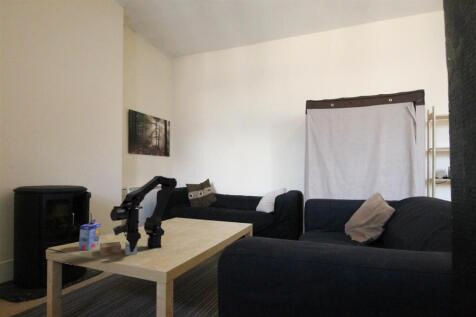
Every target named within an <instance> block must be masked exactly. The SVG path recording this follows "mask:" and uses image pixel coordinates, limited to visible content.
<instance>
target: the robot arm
mask: <svg viewBox="0 0 476 317" xmlns="http://www.w3.org/2000/svg"><path fill="white" fill-rule="evenodd" d="M159 185H160V190H161V192H160V194H159V197H158V200H157V202H156V204H155V207H154V209H153V212H152V214H151V216H150V217H149V216H147V217H146V218H145V221H144V223H143V225H144V226H143V229H144V232H145V235H146V236H147V239H146V240H147V241H146V247H147V248H148V249H156V248H158V249H159V248H162V247H163V246H162V236H165V230H164V229H163V228H162V216H163V213H164V211H165V208H166V205H167V203H168V200H169V198H170V195H171V193H173V192H174V190H175V189H176V187H177V185H178V181H177V179H176V178H175V177H166V176H162V175H155V176H153V178H152V179H150V180H149V181H147V182H146V183H145V184H143V185H142V186H141V187H140V188H138V189H136V190H135V189H134V190H132V191H130V192H128V193H126V195H125V197H124V199H123V200H122V202H121V204H120V205H113V208H112V209H111V211H110V214H109V217H110V219H111V221H112V222H117V221H123V220H124V223H123V224H120V225H117V226H114V227H113V228H112V230H113V233H114V235H115V236H116V237H117V236H118V235H119V234H122V233H123V234H124V237H125V239H126V242H129V246H130V252H133V251H134V249H135V246H136V244H137V245H138V242H139V240H140V239H142V234H141V232H139V231H140V230H139V224H140V220H139V218H140V210H141V209H144V208H143V206H142V205H141V204H142V202H143V201H144V199H145V197H146V196H147V195H148V194H149V193H150V192H152V191H153V190H154V189H155V188H156V187H158V186H159Z"/></svg>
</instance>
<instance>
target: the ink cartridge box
mask: <svg viewBox="0 0 476 317" xmlns="http://www.w3.org/2000/svg"><path fill="white" fill-rule="evenodd" d="M96 220H97V219H92V220H91V221H90V222H89V223H84V224H82V225H80V228H79V239H78V240H79V241H78V250H81V251H89V250H91V249H93V248H96V247H99V246H100V234H101V232H100V231H101V222H96Z"/></svg>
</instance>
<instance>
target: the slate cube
mask: <svg viewBox="0 0 476 317" xmlns="http://www.w3.org/2000/svg"><path fill="white" fill-rule="evenodd" d="M124 244H125V246H124V254H125V256H132V255H138V243H137V244H136V246H135V249H134V251H133V252H130V246H129V242H128V241H125V243H124Z"/></svg>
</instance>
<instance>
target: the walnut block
mask: <svg viewBox="0 0 476 317" xmlns="http://www.w3.org/2000/svg"><path fill="white" fill-rule="evenodd" d="M116 254H118V255H119V254H122V243H121V242H120V241H114V242H113V241H112V242H101V243H100V242H99V256H107V255H116Z"/></svg>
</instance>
